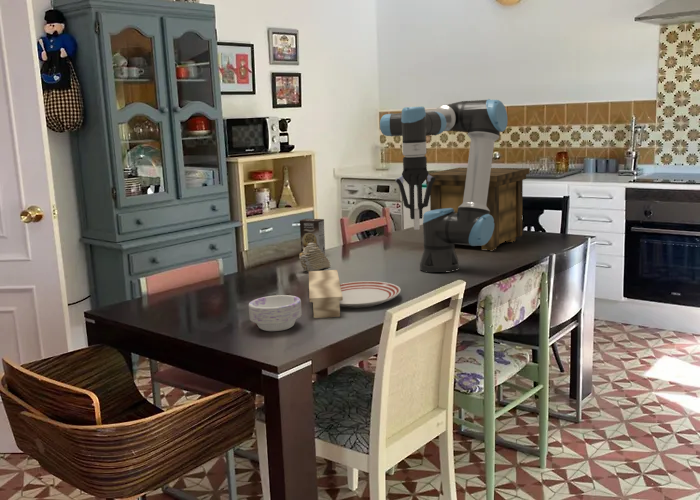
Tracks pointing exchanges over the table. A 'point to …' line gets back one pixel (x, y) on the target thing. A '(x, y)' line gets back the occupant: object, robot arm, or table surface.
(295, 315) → the paper bowls
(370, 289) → the dinner plate
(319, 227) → the coffee box
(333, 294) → the long wooden block
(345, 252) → the table surface
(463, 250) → the table surface
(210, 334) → the table surface
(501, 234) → the crate
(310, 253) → the fossil tooth
